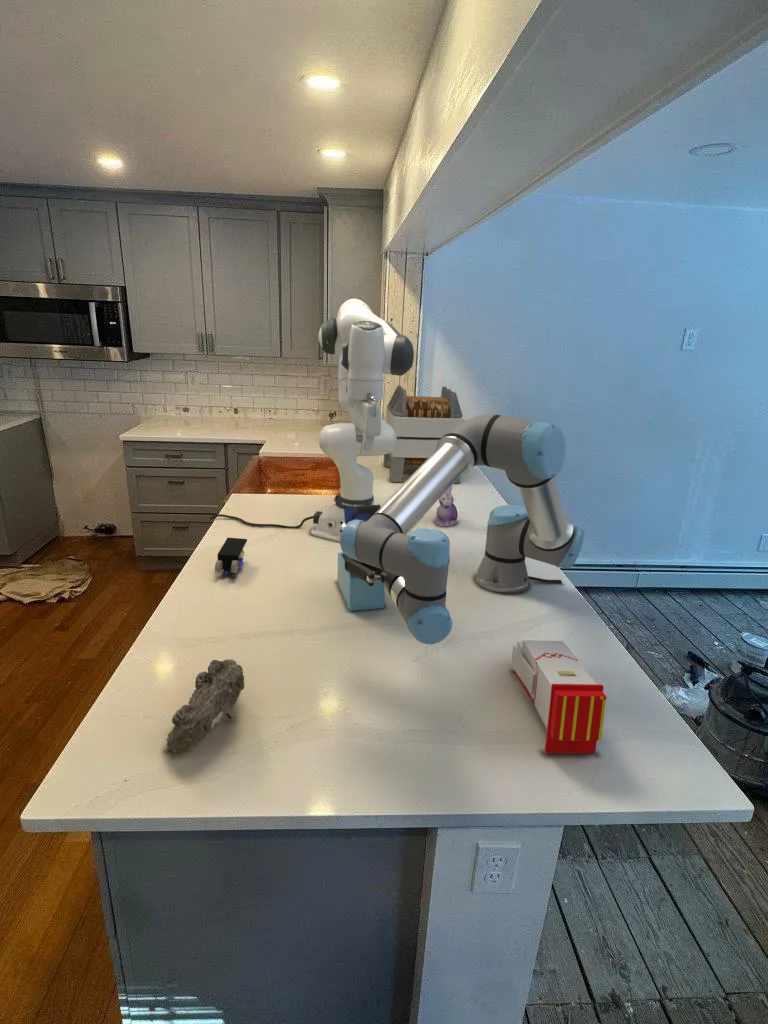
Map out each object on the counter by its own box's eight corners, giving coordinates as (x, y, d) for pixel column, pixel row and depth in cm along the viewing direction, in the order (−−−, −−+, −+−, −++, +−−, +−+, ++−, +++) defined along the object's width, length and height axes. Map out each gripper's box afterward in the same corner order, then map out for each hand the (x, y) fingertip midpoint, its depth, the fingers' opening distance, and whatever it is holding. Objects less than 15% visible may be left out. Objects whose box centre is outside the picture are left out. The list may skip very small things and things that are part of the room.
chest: (337, 581, 163) (337, 552, 160) (368, 579, 166) (369, 550, 163) (349, 611, 148) (350, 579, 145) (383, 607, 150) (385, 576, 147)
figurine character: (238, 584, 162) (249, 557, 175) (236, 562, 158) (247, 536, 172) (215, 584, 161) (227, 556, 175) (212, 561, 158) (225, 535, 171)
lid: (343, 509, 149) (350, 500, 140) (377, 507, 151) (386, 498, 142) (350, 577, 145) (357, 573, 136) (384, 574, 147) (394, 570, 139)
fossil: (192, 660, 117) (244, 628, 112) (224, 691, 120) (276, 661, 115) (142, 746, 98) (202, 712, 93) (182, 779, 101) (242, 748, 96)
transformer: (382, 463, 289) (386, 382, 275) (445, 464, 293) (451, 384, 279) (390, 482, 257) (394, 392, 243) (460, 483, 261) (468, 394, 247)
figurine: (442, 528, 206) (446, 489, 201) (428, 519, 214) (431, 481, 209) (464, 525, 210) (468, 486, 205) (449, 516, 218) (452, 479, 213)
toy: (559, 623, 127) (616, 692, 98) (553, 678, 130) (607, 761, 101) (505, 622, 127) (547, 691, 98) (501, 677, 130) (540, 760, 100)
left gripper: (389, 397, 130) (386, 456, 135) (368, 385, 149) (366, 437, 154) (362, 397, 129) (360, 456, 134) (344, 385, 147) (343, 437, 152)
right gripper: (346, 611, 111) (327, 565, 130) (464, 600, 117) (430, 557, 136) (346, 576, 108) (328, 535, 127) (468, 567, 114) (432, 528, 134)
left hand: (363, 446), depth 144 cm, fingers open, 8 cm apart
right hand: (380, 546), depth 132 cm, fingers open, 13 cm apart
